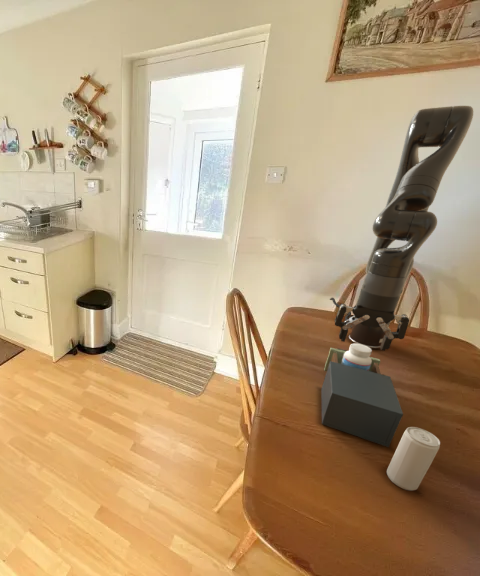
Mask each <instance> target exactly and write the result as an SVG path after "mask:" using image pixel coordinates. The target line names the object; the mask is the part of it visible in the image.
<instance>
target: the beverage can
mask: <svg viewBox="0 0 480 576" xmlns="http://www.w3.org/2000/svg"><path fill="white" fill-rule="evenodd" d="M440 445H441V440H440V439H439V438H438V437H437V436H436V435H435V434H434V433H432V432H430V431H428V430H426V429H424V428H420V427H417V426H409V427H407V428H406V429H405V430H404V432H403V434H402V436H401V438H400V440H399V442H398V445H397V447H396V449H395V452H394V454H393V456H392V458H391V460H390V463H389V464H388V467H387V469H386V475H387V477H388V479H389V480H390V481H391V482H392V483H393V484H394V485H396V486H397V487H399V488H401V489H403V490H405V491H416V490H418V489H419V487H420V485H421V484H422V482H423V480H424V478H425V476H426V474H427V472H428V470H429V468H430V467H431V465H432V463H433V461H434V459H435V457H436V455H437V453H438V452H439V450H440V447H441V446H440Z"/></svg>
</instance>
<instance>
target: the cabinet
mask: <svg viewBox="0 0 480 576" xmlns="http://www.w3.org/2000/svg"><path fill="white" fill-rule="evenodd" d="M323 379H324V380H323V382H322V385H321V389H320V393H321V395H320V397H321V424H322V425H323V426H326V427H329V428H332V429H334V430H338V431H340V432H343V433H346V434H349V435H351V436H355V437H358V438H361V439H364V440H366V441H369V442H373V443H376V444H378V445H380V446H384V447H387V448H390V445H391V443H392V441H393V439H394V436H395V434H396V432H397V430H398V427H399V425H400V423H401V421H402V418H403V416H404V411H403V410H402V407H401V404H400V401H399V397H398V395H397V392H396V389H395V387H394V383H393V381H392V378H391V376H389V375H386V374H382V373H381V374H378V373H374V372H370V371H367V370H363V369H359V368H355V367H351V366H347V365H343V364H339V363H336V362H332V361H330V363H329V366H328V369H327V372H326V371H325V376H324V378H323Z"/></svg>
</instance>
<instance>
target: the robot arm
mask: <svg viewBox="0 0 480 576" xmlns="http://www.w3.org/2000/svg"><path fill="white" fill-rule="evenodd" d="M473 117H474V108H473V107H472V106H471V105H451V106H440V107H431V108H421V109H419V110H418V111H416V112H415V113H414V114H413V116H412V118H411V119H410V121H409V125H408V127H407V131H406V135H405V139H404V143H403V147H402V150H401V154H400V155H401V156H400V160H399V164H398V168H397V172H396V175H395V179H394V181H393V184H392V187H391V190H390V193H389V196H388V198H387V201H386V204H385V208H383V209H382V210H381V211H380V213H379V214H378V215H377V216H376V218H375V220H374V221H373V224H372V232H373V234H374V236H376V239H375V242H374V245H373V247H372V250H371V252H370V255H369V257H368V260H367V262H366V267H365V277H364V279H363V282H362V286H361V288H360V292H359V295H358V297H357V301H356V304H355V305H354V306H350V305H346V303H341V304H339V303H337V302H336V300H335V299H336V298H335V297H330V298H329V300H330V301H332V303H333V304H334V306H336V307H337V308H338V310H337V313H336V316H335V318H334V326H335V327H339V328H340V330H339V334H338V339H339V340H340V342H343V343H344V342H345V341H346V339H347V336H348V340H349V341H350V342H351V343H352V344H354V343H356V344H362V345H365V346H367V347H369V348H370V349H371V350H373V349H374V350H377V349H378V350H379V349H380V351H384V352H385V351H386V350H389V349H390V347H391V345H392V342H393V340H394V339H398V340H403V339H405V336H406V333H407V330H408V326H409V323H410V318H409V317H408V315H407V314H406V313H403V314H395V312H396V309H397V306H398V304H399V301H400V298H401V295H402V293H403V290H404V287H405V284H406V282H407V280H408V278H409V276H410V275H411V271H412V269H413V266H414V264H415V263H414V262H415V259H414V258H415V256H416V254H417V252H418V251H419V250H420V249H421V247H422V246H423V244H424V243H425V242H426V241H427V240H428V239H429V237H430V236H431V235H433V233H434V231H435V230H436V228H437V226H438V217H437V216H436V214H435V213H434V212H432V211H429V208H430V207H431V205H433V203H434V200H435V198H436V196H437V193H438V190H439V187H440V185H441V182H442V180H443V177H444V175H445V173H446V172H447V170H448V168H449V167H450V165H451V163H452V162H453V160H454V158H455V157H456V154H457V153H458V151H459V150H460V148H461V146H462V143H463V142H464V140H465V138H466V136H467V134H468V132H469V129H470V127H471V125H472V122H473ZM419 148H438V149H436V150H435V151H434V152H432V153H431V154H430V155H429V156H427V157H425V158H424V159H422V160H420V159H419V158H420V157H419ZM395 241H400V242H401V241H403V242H407V243H406V244H405V245H402V246H399V247H389V246H390V245H392V244H393V243H394V242H395ZM352 314H353V316H352ZM343 319H344V321H343ZM394 320H395V322H396V324H397V326H396V327H397V328H396V331H392V330H391V328H390V325H391V322H392V321H394ZM350 328H351V330H350V333H349V329H350ZM348 333H349V335H348Z"/></svg>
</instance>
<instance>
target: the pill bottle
mask: <svg viewBox="0 0 480 576" xmlns="http://www.w3.org/2000/svg"><path fill="white" fill-rule="evenodd" d="M372 352H373V349H372V348H369V347H367V346H365V345H362V344H356V343H350V345H349V347H348V350H347V351H346V352H345V353H344V356H343V359H342V362H341V364H343V365H347V366H351V367H355V368H359V369H363V370H367V371H369V368H370V365H371V362H372V360H371V358H370V357H371V355H372Z"/></svg>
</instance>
